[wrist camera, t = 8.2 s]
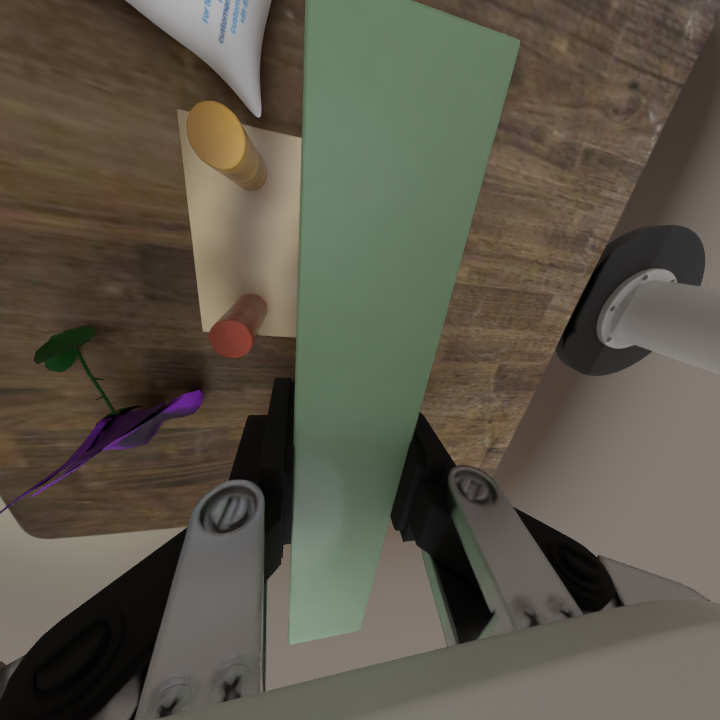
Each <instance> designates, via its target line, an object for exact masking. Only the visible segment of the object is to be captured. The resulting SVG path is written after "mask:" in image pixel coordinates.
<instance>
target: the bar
mask: <svg viewBox="0 0 720 720" xmlns="http://www.w3.org/2000/svg"><path fill="white" fill-rule="evenodd" d="M519 46H520V41H519V40H518V39H515V38H513V37H510V36H507V35H505V34H502V33H499V32H497V31H494V30H491V29H488V28H486V27H483V26H480V25H478V24H475V23H472V22H469V21H467V20H464V19H461V18H459V17H456V16H453V15H451V14H448V13H445V12H442V11H440V10H437V9H434V8H432V7H429V6H426V5H423V4H421V3H418V2H415V1H413V0H305V33H304V70H303V107H302V143H301V180H300V217H299V254H298V291H297V328H296V365H295V402H294V439H293V445H294V468H293V501H292V531H291V551H290V552H291V553H290V586H289V587H290V588H289V624H288V644H289V645H291V644H295V643H301V642H306V641H310V640H315V639H320V638H325V637H330V636H334V635H339V634H344V633H349V632H354V631H359V630H360V627H361V623H362V620H363V616H364V613H365V609H366V605H367V602H368V598H369V594H370V591H371V587H372V583H373V580H374V576H375V572H376V569H377V565H378V561H379V558H380V554H381V550H382V547H383V543H384V540H385V536H386V532H387V529H388V525H389V521H390V518H391V517H390V515H391V511H392V507H393V504H394V500H395V496H396V493H397V489H398V485H399V482H400V478H401V474H402V471H403V467H404V463H405V460H406V456H407V452H408V449H409V445H410V442H411V441H412V437H413V434H414V430H415V426H416V423H417V419H418V415H419V412H420V408H421V404H422V401H423V397H424V393H425V390H426V386H427V383H428V379H429V375H430V372H431V368H432V364H433V361H434V357H435V353H436V350H437V346H438V342H439V339H440V335H441V331H442V328H443V324H444V320H445V317H446V313H447V309H448V306H449V302H450V298H451V295H452V291H453V288H454V284H455V280H456V277H457V273H458V269H459V266H460V262H461V258H462V255H463V251H464V247H465V244H466V240H467V236H468V233H469V229H470V225H471V222H472V218H473V214H474V211H475V207H476V203H477V200H478V196H479V193H480V189H481V185H482V182H483V178H484V174H485V171H486V167H487V163H488V160H489V156H490V152H491V149H492V145H493V141H494V138H495V134H496V130H497V127H498V123H499V119H500V116H501V112H502V108H503V105H504V101H505V98H506V94H507V90H508V87H509V83H510V79H511V76H512V72H513V68H514V65H515V61H516V57H517V54H518V50H519Z"/></svg>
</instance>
